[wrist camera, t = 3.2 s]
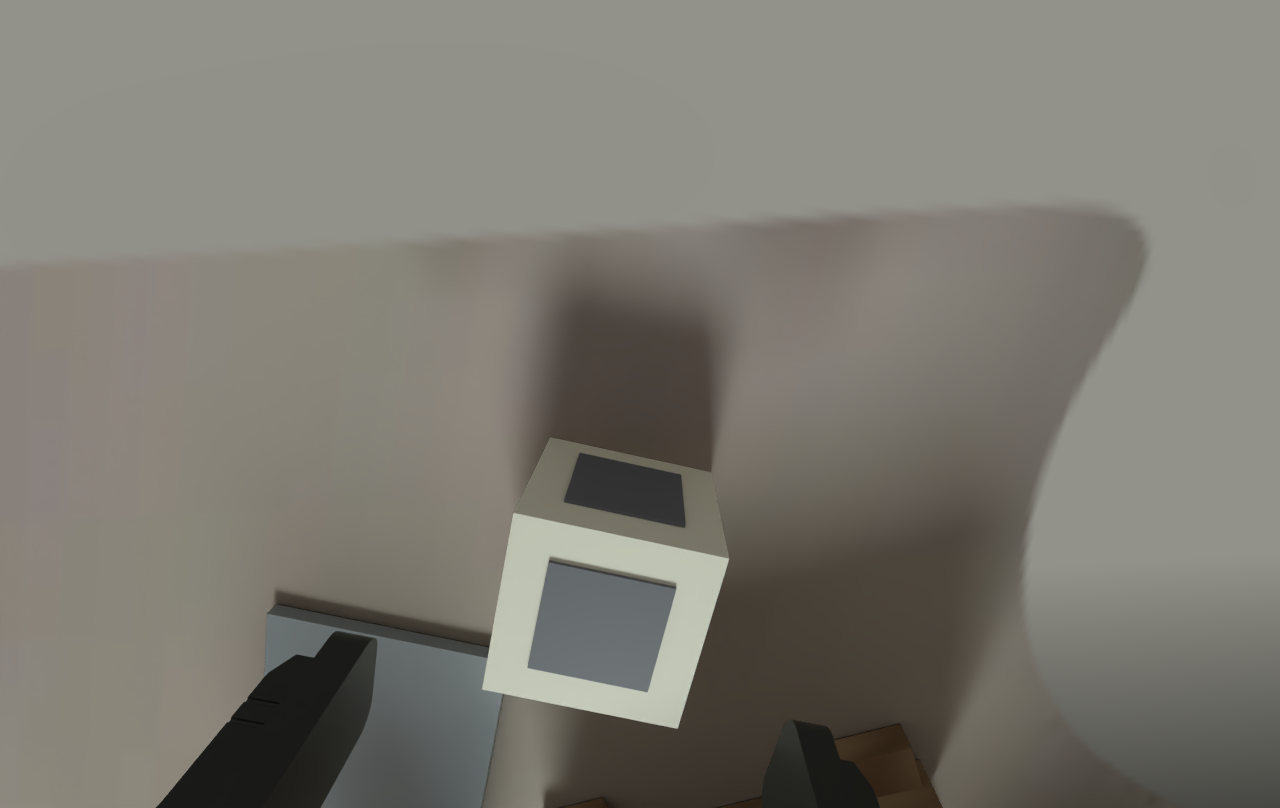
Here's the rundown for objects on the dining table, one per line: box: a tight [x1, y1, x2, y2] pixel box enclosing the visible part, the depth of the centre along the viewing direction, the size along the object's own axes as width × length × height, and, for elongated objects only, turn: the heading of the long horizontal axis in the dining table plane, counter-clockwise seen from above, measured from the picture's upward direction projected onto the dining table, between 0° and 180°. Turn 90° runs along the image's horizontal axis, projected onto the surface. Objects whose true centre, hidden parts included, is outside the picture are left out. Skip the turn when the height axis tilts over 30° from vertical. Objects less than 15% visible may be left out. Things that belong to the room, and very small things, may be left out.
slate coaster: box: [264, 604, 504, 808], centre depth 22 cm, size 8×8×1 cm
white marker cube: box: [482, 437, 729, 729], centre depth 17 cm, size 5×5×5 cm
